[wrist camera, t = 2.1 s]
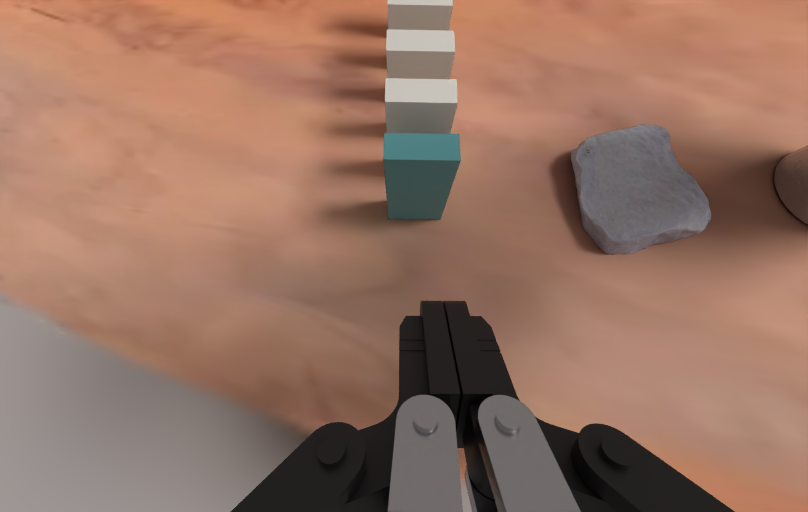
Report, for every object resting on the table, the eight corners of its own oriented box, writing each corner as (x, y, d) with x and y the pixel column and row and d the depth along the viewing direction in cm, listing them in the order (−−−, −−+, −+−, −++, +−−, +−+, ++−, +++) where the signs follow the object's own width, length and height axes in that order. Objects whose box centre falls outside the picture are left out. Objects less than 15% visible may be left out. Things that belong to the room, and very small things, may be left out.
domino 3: (389, 159, 31) (385, 78, 21) (438, 160, 31) (456, 79, 21) (389, 177, 30) (384, 101, 21) (439, 177, 30) (457, 103, 21)
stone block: (587, 267, 30) (694, 238, 29) (609, 255, 26) (737, 220, 24) (543, 167, 34) (637, 138, 33) (556, 140, 29) (665, 105, 28)
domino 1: (391, 87, 33) (388, -15, 24) (436, 88, 33) (451, -14, 24) (391, 103, 33) (387, 4, 23) (437, 103, 33) (452, 5, 23)
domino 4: (388, 200, 30) (384, 132, 20) (439, 200, 30) (459, 134, 20) (388, 218, 29) (383, 159, 20) (440, 219, 29) (460, 160, 20)
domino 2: (390, 122, 32) (386, 29, 22) (437, 123, 32) (453, 30, 23) (390, 138, 32) (386, 50, 22) (438, 139, 32) (454, 51, 22)
